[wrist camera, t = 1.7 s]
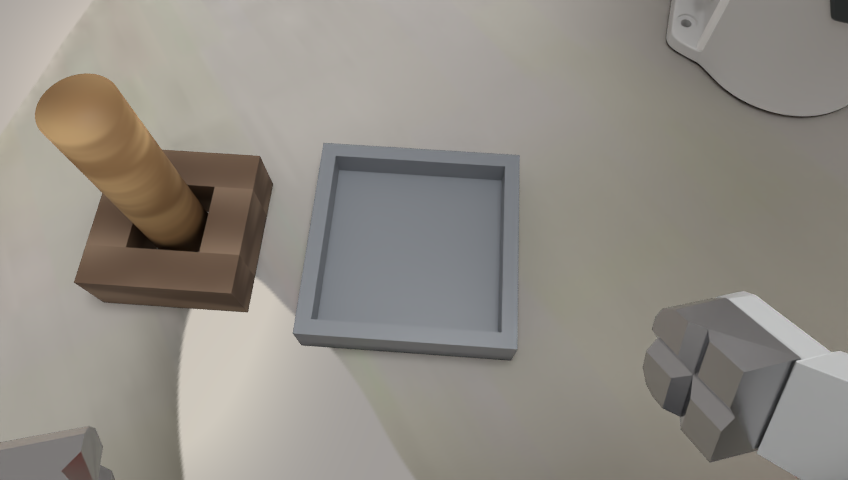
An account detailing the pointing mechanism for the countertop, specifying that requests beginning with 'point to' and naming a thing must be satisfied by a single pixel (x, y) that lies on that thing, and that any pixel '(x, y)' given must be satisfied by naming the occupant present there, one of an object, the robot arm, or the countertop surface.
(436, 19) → the countertop surface
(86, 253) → the socket block
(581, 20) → the countertop surface
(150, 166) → the dowel
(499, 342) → the tray
